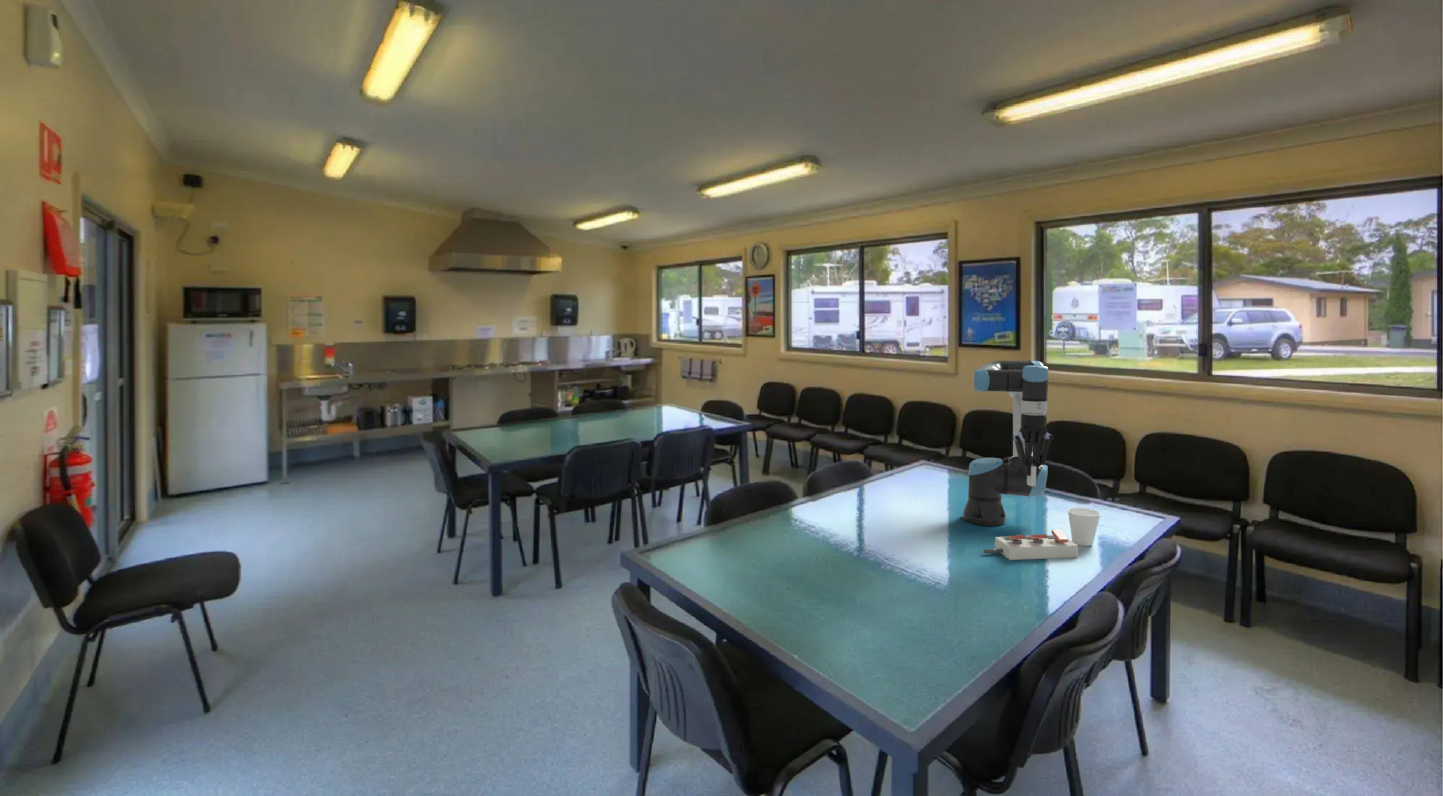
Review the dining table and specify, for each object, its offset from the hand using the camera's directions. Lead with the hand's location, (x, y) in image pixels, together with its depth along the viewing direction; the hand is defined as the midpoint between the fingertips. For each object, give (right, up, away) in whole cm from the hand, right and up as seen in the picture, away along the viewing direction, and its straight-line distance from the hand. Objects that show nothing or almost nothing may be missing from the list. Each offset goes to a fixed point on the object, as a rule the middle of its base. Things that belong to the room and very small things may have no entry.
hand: (1031, 485), depth 211 cm
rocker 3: (+8, -16, -3) cm, 18 cm away
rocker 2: (+1, -16, -3) cm, 16 cm away
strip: (-2, -22, -1) cm, 22 cm away
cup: (+21, -21, +7) cm, 30 cm away
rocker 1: (-6, -16, -4) cm, 18 cm away
